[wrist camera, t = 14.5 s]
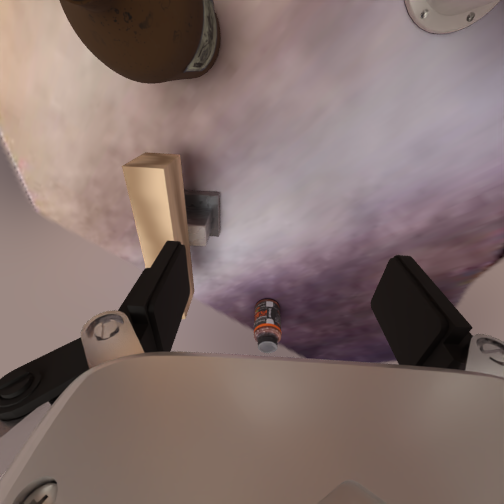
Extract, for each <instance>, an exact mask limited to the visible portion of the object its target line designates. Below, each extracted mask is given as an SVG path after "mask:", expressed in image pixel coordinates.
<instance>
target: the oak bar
mask: <svg viewBox="0 0 504 504" xmlns="http://www.w3.org/2000/svg"><path fill="white" fill-rule="evenodd" d="M122 168H123V172H124V177H125V181H126V185H127V190H128V194H129V198H130V202H131V207H132V211H133V215H134V219H135V224H136V228H137V232H138V236H139V241H140V245H141V249H142V253H143V258H144V262H145V266H146V268H150V267H151V266H152V264H153V262H154V261H155V259H156V258H157V256H158V254H159V253H160V251H161V249H162V248H163V246H164V244H165V243H166V241H180V242H181V245H185V248H186V256H187V265H188V274H189V282H190V296H189V299H188V302H187V305H186V308H185V310H184V313H183V316H182V319H185V318H186V315H187V312H188V309H189V306H190V303H191V300H192V297H193V294H194V283H193V273H192V264H191V254H190V245H189V235H188V225H187V216H186V206H185V196H184V187H183V177H182V167H181V158H180V155H176V154H161V153H144V154H142V155H140V156H139V157H137V158H135V159H133V160H132V161H130V162H128V163H127V164H125V165H123V166H122Z"/></svg>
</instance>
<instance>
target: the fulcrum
mask: <svg viewBox="0 0 504 504" xmlns="http://www.w3.org/2000/svg"><path fill="white" fill-rule="evenodd" d="M184 196H185V206H186V216H187V225H188V235H189V245H192V246H206V245H207V242H208V239H209V236H219V234H220V198H219V192H210V191H195V190H184Z"/></svg>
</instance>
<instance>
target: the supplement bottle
mask: <svg viewBox="0 0 504 504" xmlns="http://www.w3.org/2000/svg"><path fill="white" fill-rule="evenodd" d="M254 316H255V319H254V338H255V340H256V341H257V342H258V349H259V350H260V351H261V352H264V353H272V352H274V351H276V350H277V343H278V342H279V341H280V339H281V320H280V307H279V304H278V303H277V302H276V301H274V300H271V299H263V300H260V301H259V302H258V303H257V304H256V306H255V315H254Z"/></svg>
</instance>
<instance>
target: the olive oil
mask: <svg viewBox="0 0 504 504" xmlns="http://www.w3.org/2000/svg"><path fill="white" fill-rule="evenodd" d="M60 3H61V5H62V8H63V10H64V12H65V14H66V16H67V18H68V20H69V22H70V24H71V26H72V27H73V29H74V31H75V32H76V34H77V35H78V37H79V38H80V39H81V41H82V42H83V43H84V44H85V46H86V47H87V48H88V49H89V50H90V51H91V52H92V53H93V54H94V55H95V56H96V57H97V58H98V59H99V60H100V61H101V62H103V63H104V64H105V65H106V66H108V67H109V68H110V69H112V70H113V71H115V72H116V73H118V74H120V75H122V76H124V77H126V78H128V79H130V80H133V81H137V82H141V83H162V82H167V81H173V80H179V79H191V78H197V77H199V76H202V75H203V74H205V73H206V72H207V71H208V70H209V69H210V68H211V67H212V66H213V64H214V62H215V61H216V58H217V56H218V53H219V48H220V27H219V22H218V18H217V15H216V13H215V10H214V3H213V1H212V0H60Z"/></svg>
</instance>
